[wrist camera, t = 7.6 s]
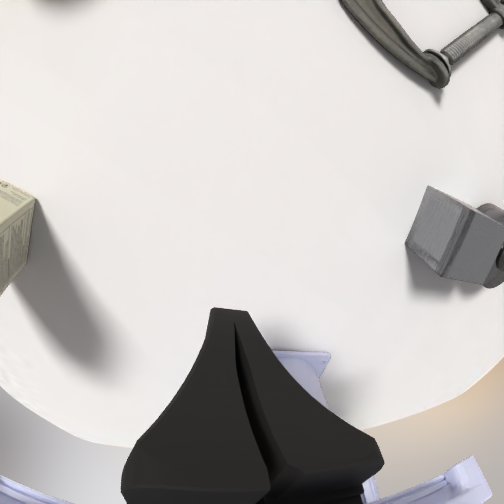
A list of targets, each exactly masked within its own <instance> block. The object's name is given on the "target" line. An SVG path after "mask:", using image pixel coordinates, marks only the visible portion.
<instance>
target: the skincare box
mask: <svg viewBox="0 0 504 504" xmlns="http://www.w3.org/2000/svg"><path fill="white" fill-rule="evenodd" d="M34 204H35V197H33V196H31V195H29V194H28V193H26V192H24V191H22V190H20V189H18V188H16V187H14V186H12V185H10V184H8V183H6V182H4V181H2V180H0V296H1V295H2V293H3V292H4V291H5V289H6V288H7V287H8V285H9V284H10V283H11V282H12V280H13V279H14V278H15V277H16V276H17V274H18V273H19V272H20V271H21V269H22V268H23V267H24V266H25V265H26V262H27V255H28V247H29V239H30V232H31V225H32V218H33V211H34Z"/></svg>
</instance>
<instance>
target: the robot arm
mask: <svg viewBox="0 0 504 504" xmlns="http://www.w3.org/2000/svg"><path fill="white" fill-rule="evenodd" d="M330 358H331V356H330V354H329V353H327V352H295V351H275V350H271V348H270V347H269V346H268V344H267V343H266V341H265V340H264V338H263V337H262V335H261V333H260V332H259V330H258V328H257V327H256V325H255V323H254V322H253V320H252V318H251V317H250V315H249V313H248V312H247V311H241V310H232V309H223V308H215V307H214V308H212V309H211V311H210V316H209V321H208V326H207V332H206V337H205V340H204V343H203V346H202V348H201V350H200V352H199V354H198V357H197V359H196V361H195V363H194V365H193V367H192V369H191V371H190V372H189V374H188V376H187V378H186V379H185V381H184V383H183V384H182V386H181V387H180V389H179V390H178V392H177V393H176V395H175V396H174V398H173V399H172V401H171V402H170V403H169V405H168V406H167V407H166V408H165V410H164V411H163V412H162V414H161V415H160V416H159V417H158V419H157V420H156V421H155V422H154V423H153V424H152V425H151V427H150V428H149V429H148V430H147V431H146V432H145V433H144V434H143V435H142V436H141V437H140V438H139V439H138V440H137V442H136V444H135V446H134V448H133V450H132V452H131V453H130V455H129V457H128V459H127V461H126V464H125V466H124V469H123V472H122V478H121V493H122V495H123V497H124V499H125V500H126V502H127V504H482V503H484V502H485V501H486V500H488V499H489V498H490V497H491V496H492V492H491V490H490V488H489V486H488V484H487V482H486V480H485V478H484V476H483V474H482V472H481V470H480V468H479V466H478V464H477V462H476V460H475V458H474V456H470V457H468V458H466V459H464V460H463V461H461V462H459V463H457V464H455V465H454V466H453V467H451V468H450V469H448V470H447V471H446V472H445V473H444V474H442V475H440V476H438V477H436V478H433V479H431V480H429V481H426V482H424V483H422V484H419V485H417V486H415V487H412V488H410V489H407V490H404V491H402V492H399V493H396V494H393V495H391V496H388V497H385V498H382V499H380V498H379V492H378V487H377V484H376V480H375V477H374V475H375V474H376V473H377V472H378V471H379V470H381V468H382V467H383V465H384V460H383V457H382V454H381V452H380V449H379V447H378V445H377V442H376V441H375V439H374V438H373V437H371V436H369V435H367V434H366V433H364V432H362V431H360V430H358V429H357V428H355V427H353V426H351V425H350V424H348V423H347V422H345V421H344V420H342V419H341V418H339V417H338V416H336V415H335V414H334V413H332V412H331V411H330V410H329V407H328V405H327V402H326V399H325V396H324V393H323V390H322V387H321V385H320V382H319V378H320V376H321V374H322V372H323V371H324V369H325V367H326V365H327V364H328V362H329V360H330ZM0 504H74V503H70V502H67V501H64V500H61V499H58V498H55V497H52V496H49V495H47V494H44V493H41V492H39V491H36V490H33V489H31V488H29V487H26V486H24V485H22V484H19V483H17V482H15V481H13V480H11V479H8V478H6V477H4V476H2V475H0Z"/></svg>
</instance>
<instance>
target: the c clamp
mask: <svg viewBox="0 0 504 504" xmlns="http://www.w3.org/2000/svg"><path fill="white" fill-rule="evenodd" d="M341 1H342V2H343V4H344V5H345V7H346V8H347V9H348V10H349V11H350V12H351V14H352V15H353V16H354V17H355V18H356V19H357V20H358V21H359V22H360V24H361V25H362V26H363V27H364V28H365V29H366V30H367V31H368V32H369V33H370V34H371V35H372V36H373V37H374V38H375V39H376V40H377V41H378V42H379V43H380V44H381V45H382V46H383V47H384V48H386V49H387V50H388V51H389V52H390V53H391V54H393V55H394V56H395V57H396V58H398V59H399V60H400V61H402V62H403V63H404V64H405V65H407V66H408V67H410V68H411V69H413V70H414V71H416V72H417V73H419V74H420V75H422V76H424V77H426V78H427V79H428V80H429V81H430V83H431V85H433V86H434V87H436V88H438V89H440V88H444V87H445V86H447V85H448V83H449V81H450V76H451V67H450V65H453V64H454V63H455V62H456V61H458V60H459V59H460V58H461V57H463V56H464V55H465V54H466V53H467V52H469V51H470V50H471V49H472V48H474V47H475V46H476V45H477V44H479V43H480V42H481V41H482V40H484V39H485V38H486V37H487V36H489V35H490V34H491V33H492V32H493V31H495V30H496V29H497V28H500V29H504V0H501V2H502V3H503V5H502V4H501V3H500V1H499V0H481V1H482V2H483V3H484V5H485V6H486V7H487V8H488V10H489V13H490V14H489V15H488V16H486V17H485V18H484V19H482V20H481V21H480V22H478V23H477V24H476V25H474V26H473V27H471V28H470V29H468V30H467V31H466V32H464V33H463V34H462V35H460V36H459V37H458V38H456V39H455V40H454V41H452V42H451V43H450V44H448V45H447V46H446V47H444V48H443V49H442V50H441V51H440V52H438V51H436V50H433V49H428V50H425V51H424V52H422V51H421V50H420V49H419V48H418V47H417V46H416V44H415V43H414V42H413V41H412V40H411V38H410V37H409V36H408V35H407V33H406V32H405V31H404V29H403V28H402V27H401V25H400V24H399V23H398V22H397V20H396V19H395V18H394V16H393V15H392V14H391V13H390V11H389V10H388V9H387V8H386V6H385V5H384V3H383V2H382V0H341Z"/></svg>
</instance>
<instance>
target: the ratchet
mask: <svg viewBox="0 0 504 504" xmlns="http://www.w3.org/2000/svg"><path fill="white" fill-rule="evenodd" d="M477 210H479V211H481V212H482V213H484V214H486V215H487V216H489V217H491V218H492V219H494V220H495V221H497V222H498V223H500V224H502V225H503V226H504V210H502V209H500V208H499V207H497V206H495V205H493V204H489V203H488V204H484V205H482V206H480V207H478V208H477ZM502 282H504V242H503V244H502V246H501V248H500V251H499V253H498V255H497V257H496V259H495V261H494V263H493V265H492V267H491V269H490V271H489V273H488V275H487V277H486V279H485V281H484V283H483V286H484V287H486V288H494V287H497V286H498V285H500V284H501V283H502Z"/></svg>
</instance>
